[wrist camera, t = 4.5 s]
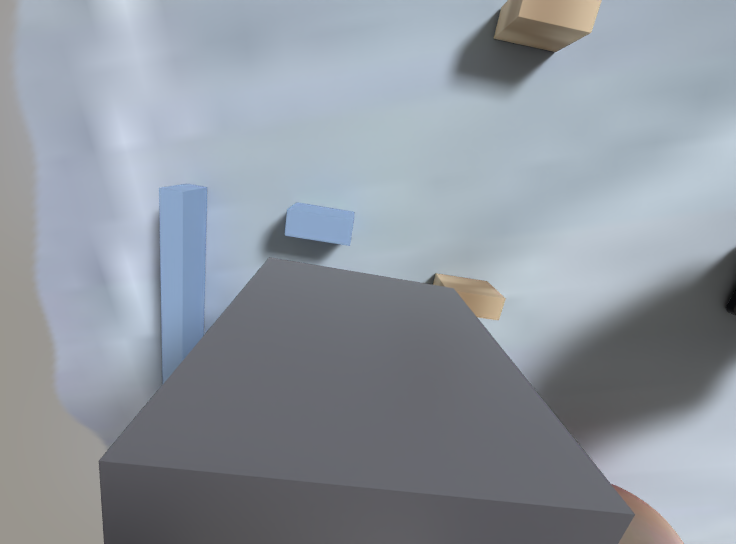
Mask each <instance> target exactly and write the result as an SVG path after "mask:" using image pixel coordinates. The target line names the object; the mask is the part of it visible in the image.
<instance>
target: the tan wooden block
mask: <svg viewBox="0 0 736 544" xmlns="http://www.w3.org/2000/svg"><path fill="white" fill-rule="evenodd" d="M601 1H602V0H508V1H507V2H506V3H505V4H504V5H503V6H502V7H501V11H500V15H499V19H498V23H497V27H496V31H495V35H494V39H498V40H502V41H507V42H512V43H516V44H521V45H525V46H530V47H535V48H539V49H544V50H548V51H553V52H557V51H559V50H560V49H562V48H564V47H566V46H568V45H570V44H571V43H573V42H575V41H577V40H579V39H581V38H582V37H584V36H586V35H588V34H590V33H591V32H592V29H593V25H594V22H595V19H596V16H597V13H598V10H599V7H600V4H601ZM433 285H437V286H443V287H449V288H454V289H455V290H456V292H457V293H458V294H459V295H460V297H461V298H462V299H463V300H464V302H465V303H466V304H467V305H468V307H469V308H470V309H471V310H472V312H473V313H474V314H475V315H476V317H479V318H486V319H493V320H499V318H500V315H501V312H502V309H503V305H504V302H505V299H506V298H504V297H503V296H502V295H501V294H500V293H499V292H498V291H497V290H496V289H495V288H494V287H493V286H492V285H491V284H489V283H488V282H487V281H481V280H475V279H469V278H462V277H456V276H449V275H443V274H437V273H436V274H435V278H434V282H433Z"/></svg>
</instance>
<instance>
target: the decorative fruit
mask: <svg viewBox="0 0 736 544" xmlns="http://www.w3.org/2000/svg"><path fill="white" fill-rule="evenodd" d="M611 485H612V486H613V487H614V489H615V490H616V491H617V492H618V494H619V495H620V496H621V497H622V499H623V500H624V501H625V502H626V504H627V505H628V506H629V507H630V509H631V510H632V511H633V512H634V514H635V516H634V518H633V519H632V521H631V523H630V525H629V526H628V528H627V530H626V531H625V533H624V535H623V536H622V538H621V540H620V541H619V543H618V544H684V543H683V541H682V540H681V539H680V537H679V536H678V534H677V533H676V532H675V530H674V529H673V528H672V527H671V526H670V524H669V523H668V522H667V521H666V520H665V519H664V518H663V517H662V516H661V515H660V514H659V513H658V512H657V511H656V510H654V509H653V508H652V507H651V506H649V505H648V504H647V503H645V502H644V501H643V500H641V499H640V498H638V497H637V496H635V495H633V494H632V493H630V492H628V491H626V490H624V489H622V488H620V487H618V486H615V485H613V484H611Z"/></svg>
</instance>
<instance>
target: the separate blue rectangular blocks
mask: <svg viewBox="0 0 736 544" xmlns="http://www.w3.org/2000/svg"><path fill="white" fill-rule="evenodd" d="M159 210H160V266H161V322H162V377H163V384H164V382H165V381H166V380H167V379H168V378H169V376H170V375H171V374H172V373H173V372H174V371H175V369H176V368H177V367H178V366H179V365H180V363H181V362H182V361H183V360H184V359H185V357H186V356H187V355H188V354H189V353H190V351H191V350H192V349H193V348H194V347H195V345H196V344H197V343H198V342H199V341H200V339H201V338H202V337H203V336H204V297H205V257H206V216H207V187H202V186H196V185H190V184H183V185H176V186H169V187H162V188H159ZM353 223H354V212H350V211H344V210H339V209H333V208H327V207H321V206H315V205H309V204H303V203H295V204H294V205H292V206H291V207H290V208H288V209H287V216H286V227H285V236H292V237H298V238H304V239H310V240H317V241H323V242H329V243H335V244H342V245H348V246H350V242H351V236H352V229H353Z"/></svg>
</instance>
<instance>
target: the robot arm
mask: <svg viewBox="0 0 736 544" xmlns="http://www.w3.org/2000/svg"><path fill="white" fill-rule="evenodd" d="M726 309H727V311H728V312H729V313H731V314H734V315H736V289H735V291H734V293H733V295H732V297H731V299H730V300H729V302H728V304H727V307H726Z"/></svg>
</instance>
